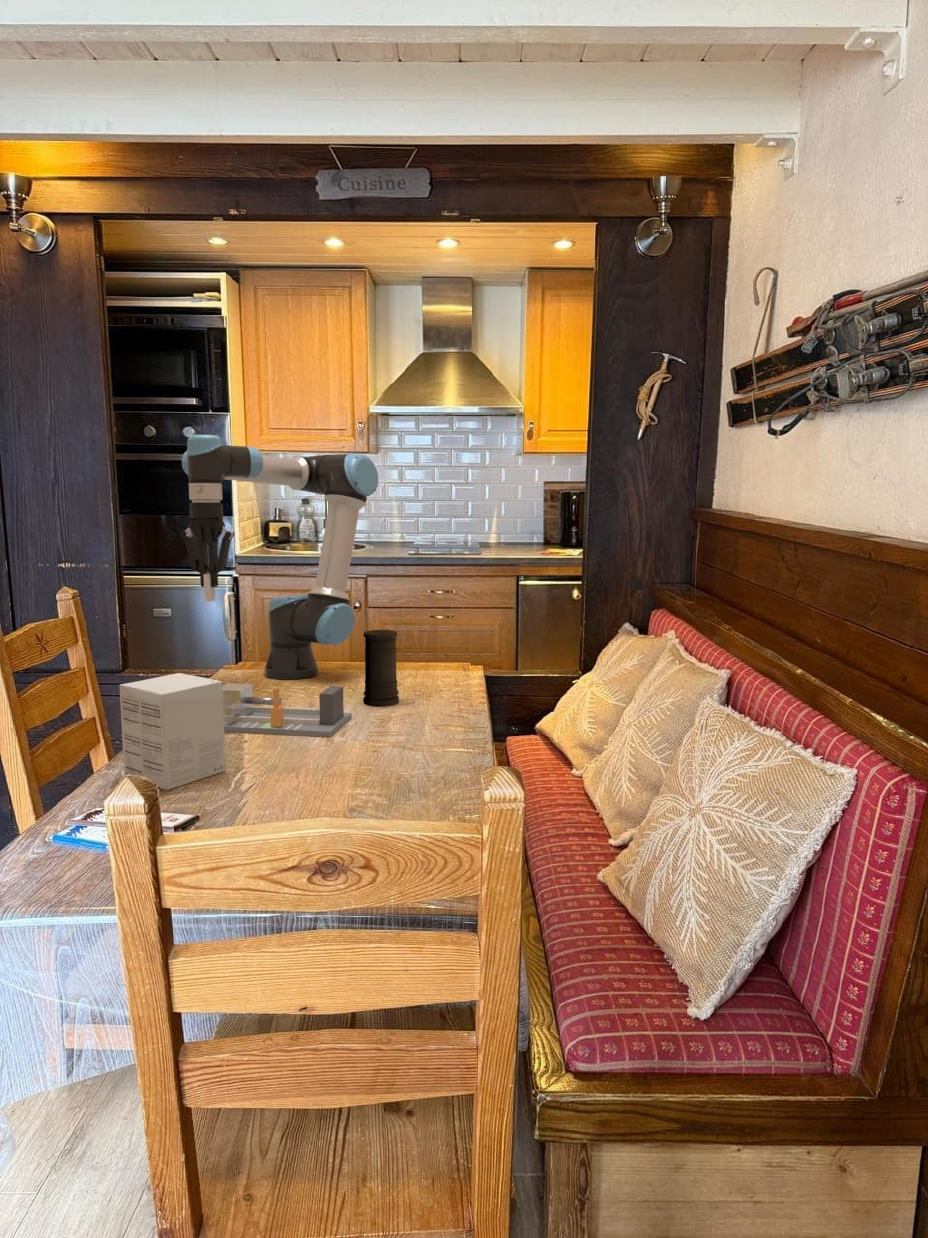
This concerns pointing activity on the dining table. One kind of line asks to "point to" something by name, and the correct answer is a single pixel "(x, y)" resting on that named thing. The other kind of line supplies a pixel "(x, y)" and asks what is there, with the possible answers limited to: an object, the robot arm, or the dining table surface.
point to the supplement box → (173, 729)
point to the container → (380, 668)
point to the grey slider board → (296, 718)
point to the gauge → (241, 699)
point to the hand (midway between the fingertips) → (210, 600)
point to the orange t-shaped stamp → (276, 710)
